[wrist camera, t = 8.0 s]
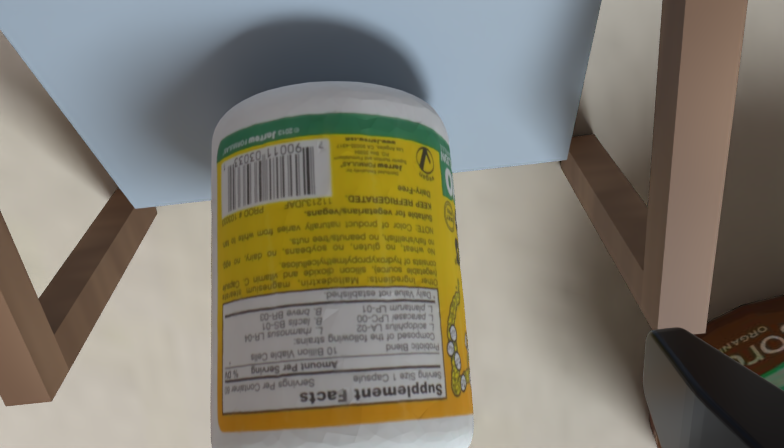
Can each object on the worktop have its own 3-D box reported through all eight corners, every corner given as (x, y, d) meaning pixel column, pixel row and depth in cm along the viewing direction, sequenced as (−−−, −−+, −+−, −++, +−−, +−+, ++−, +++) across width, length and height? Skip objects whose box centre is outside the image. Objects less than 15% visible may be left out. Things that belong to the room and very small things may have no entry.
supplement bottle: (239, 56, 13) (244, 651, 10) (493, 92, 15) (547, 591, 13) (193, 158, 18) (189, 582, 15) (392, 174, 20) (416, 547, 17)
